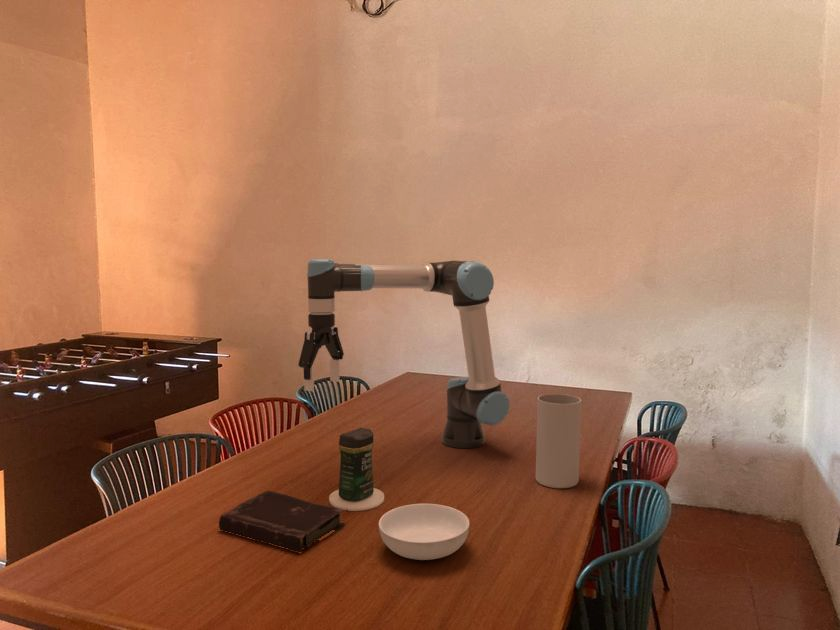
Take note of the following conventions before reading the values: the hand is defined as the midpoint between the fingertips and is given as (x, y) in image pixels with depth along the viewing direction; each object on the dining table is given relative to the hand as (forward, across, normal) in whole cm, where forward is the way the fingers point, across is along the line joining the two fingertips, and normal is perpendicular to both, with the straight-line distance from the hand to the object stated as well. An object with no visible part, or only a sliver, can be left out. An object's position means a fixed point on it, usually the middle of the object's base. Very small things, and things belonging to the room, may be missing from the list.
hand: (322, 385), depth 193 cm
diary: (+29, +31, +8) cm, 44 cm away
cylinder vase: (+29, -29, +62) cm, 75 cm away
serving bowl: (+29, +27, +44) cm, 59 cm away
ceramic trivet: (+29, +8, +16) cm, 34 cm away
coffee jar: (+28, +8, +16) cm, 33 cm away
